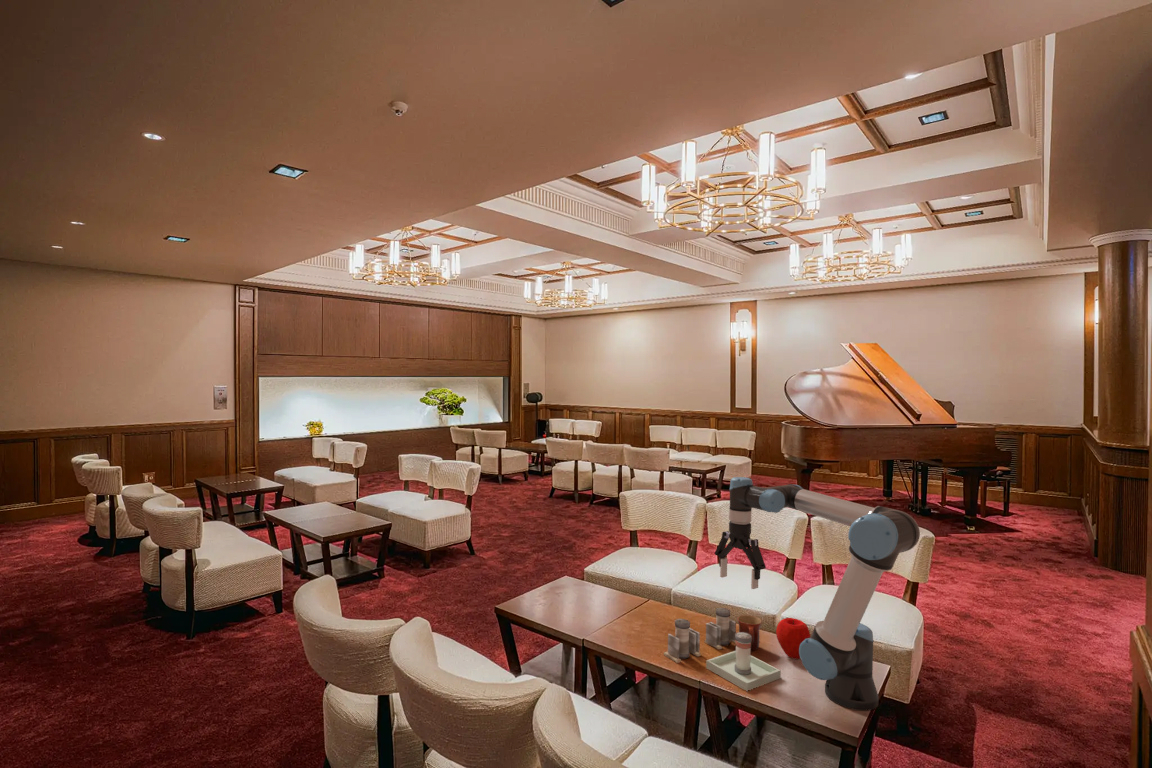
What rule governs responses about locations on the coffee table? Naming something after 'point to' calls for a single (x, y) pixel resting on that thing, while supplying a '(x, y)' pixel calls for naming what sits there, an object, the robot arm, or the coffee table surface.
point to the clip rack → (690, 638)
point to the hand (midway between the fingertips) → (738, 582)
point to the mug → (750, 628)
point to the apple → (791, 636)
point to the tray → (758, 676)
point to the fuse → (743, 653)
